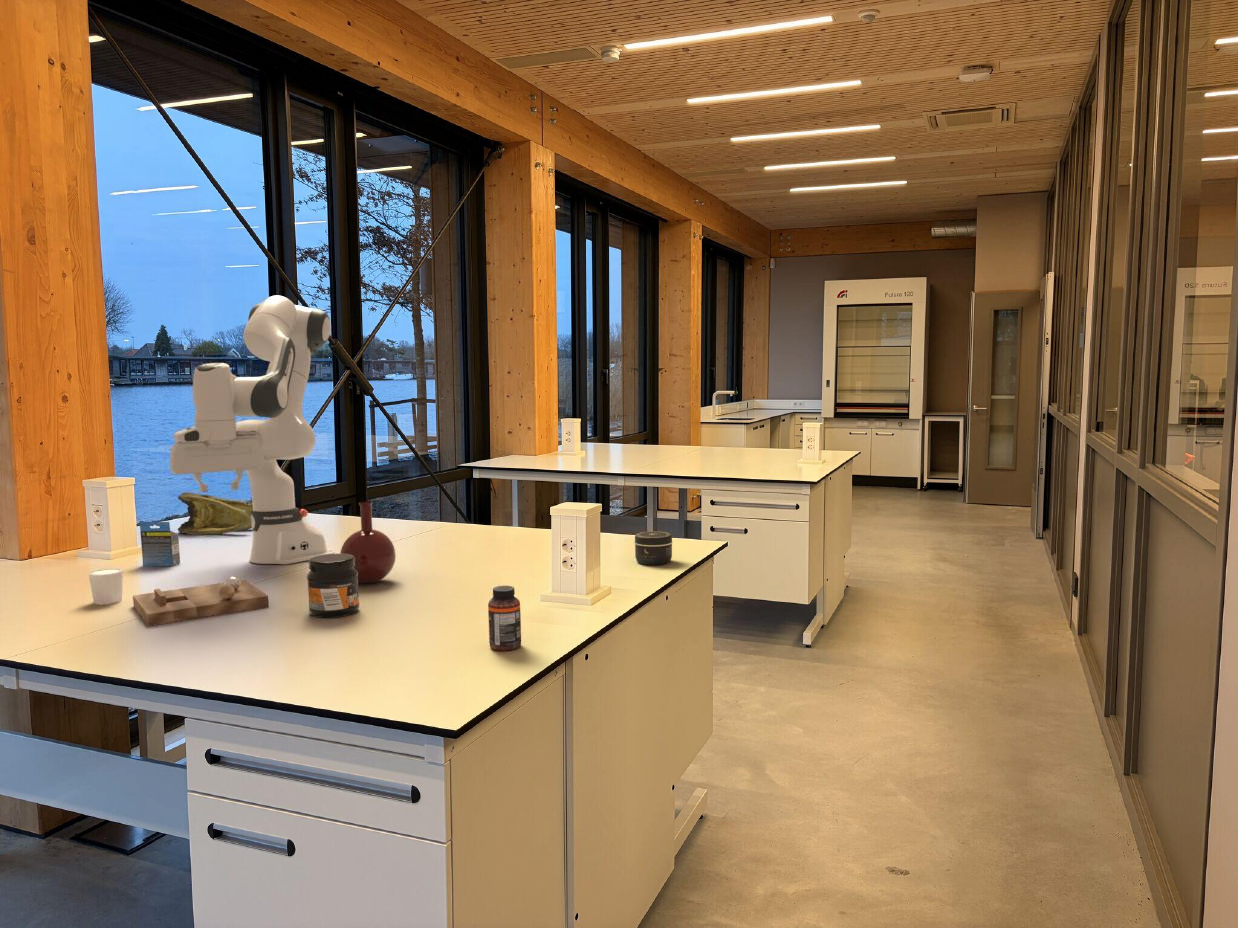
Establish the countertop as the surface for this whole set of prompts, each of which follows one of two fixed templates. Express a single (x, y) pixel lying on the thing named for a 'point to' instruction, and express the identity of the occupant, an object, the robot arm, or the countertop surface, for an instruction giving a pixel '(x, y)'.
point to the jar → (653, 548)
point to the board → (196, 602)
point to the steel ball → (233, 582)
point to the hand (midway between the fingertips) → (219, 490)
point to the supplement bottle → (504, 619)
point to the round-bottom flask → (370, 549)
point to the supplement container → (333, 585)
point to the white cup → (106, 586)
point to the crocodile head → (215, 514)
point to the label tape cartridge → (159, 544)
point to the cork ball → (226, 592)
